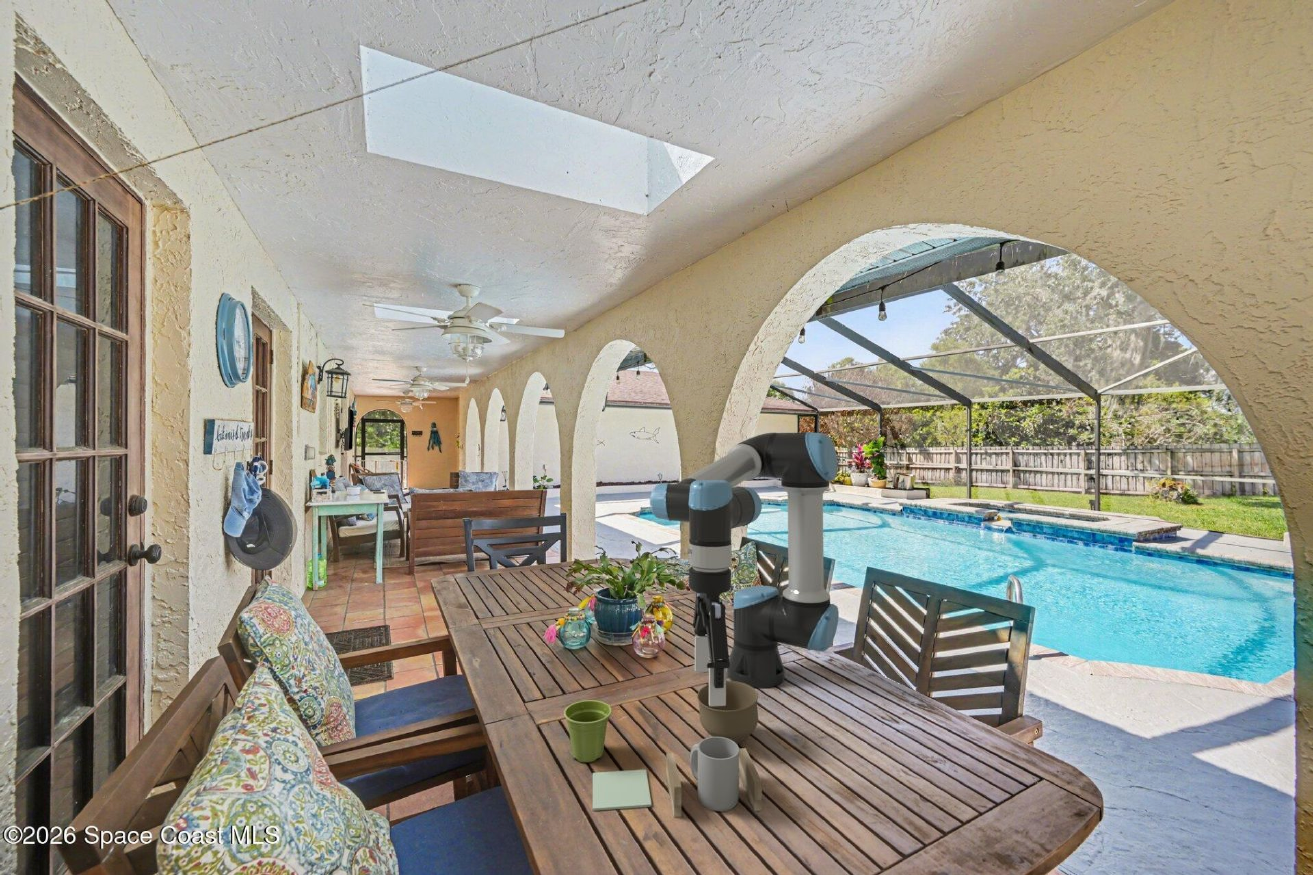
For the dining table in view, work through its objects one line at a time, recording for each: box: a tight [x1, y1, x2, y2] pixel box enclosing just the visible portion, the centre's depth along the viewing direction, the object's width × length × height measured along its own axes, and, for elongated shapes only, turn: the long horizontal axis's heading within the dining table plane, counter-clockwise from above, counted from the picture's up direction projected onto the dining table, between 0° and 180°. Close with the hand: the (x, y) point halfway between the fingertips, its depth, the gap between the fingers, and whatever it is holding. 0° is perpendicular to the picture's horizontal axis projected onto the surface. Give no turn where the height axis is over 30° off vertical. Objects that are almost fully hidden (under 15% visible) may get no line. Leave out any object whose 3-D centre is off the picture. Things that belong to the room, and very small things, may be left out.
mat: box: [592, 769, 652, 812], centre depth 99 cm, size 10×10×1 cm
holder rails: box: [665, 747, 763, 818], centre depth 98 cm, size 15×10×5 cm, turn 97°
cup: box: [689, 736, 740, 812], centre depth 98 cm, size 7×10×9 cm
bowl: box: [696, 680, 759, 745], centre depth 115 cm, size 13×13×10 cm
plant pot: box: [563, 699, 612, 763], centre depth 110 cm, size 9×9×9 cm
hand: (709, 687), depth 98 cm, fingers open, 13 cm apart
